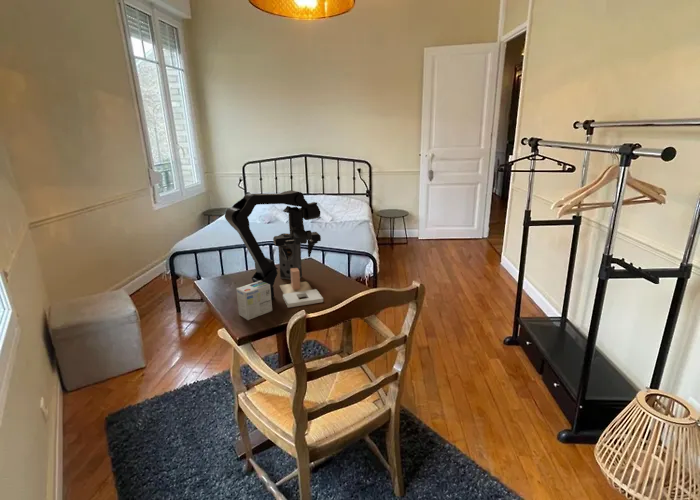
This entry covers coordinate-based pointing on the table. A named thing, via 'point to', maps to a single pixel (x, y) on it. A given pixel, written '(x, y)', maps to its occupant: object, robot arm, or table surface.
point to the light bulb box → (254, 299)
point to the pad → (303, 287)
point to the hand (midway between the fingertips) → (298, 258)
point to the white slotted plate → (293, 299)
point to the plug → (295, 278)
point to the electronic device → (289, 259)
